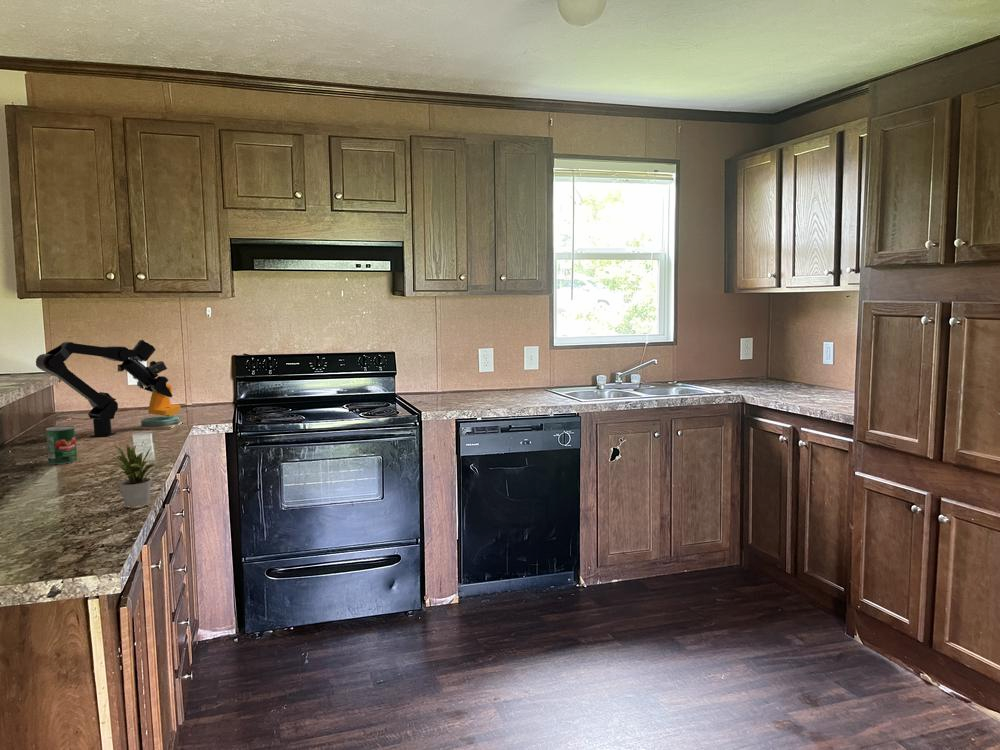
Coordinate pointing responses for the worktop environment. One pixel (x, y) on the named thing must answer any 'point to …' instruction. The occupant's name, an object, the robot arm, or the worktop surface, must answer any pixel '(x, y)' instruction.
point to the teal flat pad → (160, 422)
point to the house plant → (134, 477)
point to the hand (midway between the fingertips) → (168, 395)
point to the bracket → (162, 404)
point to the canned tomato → (61, 444)
